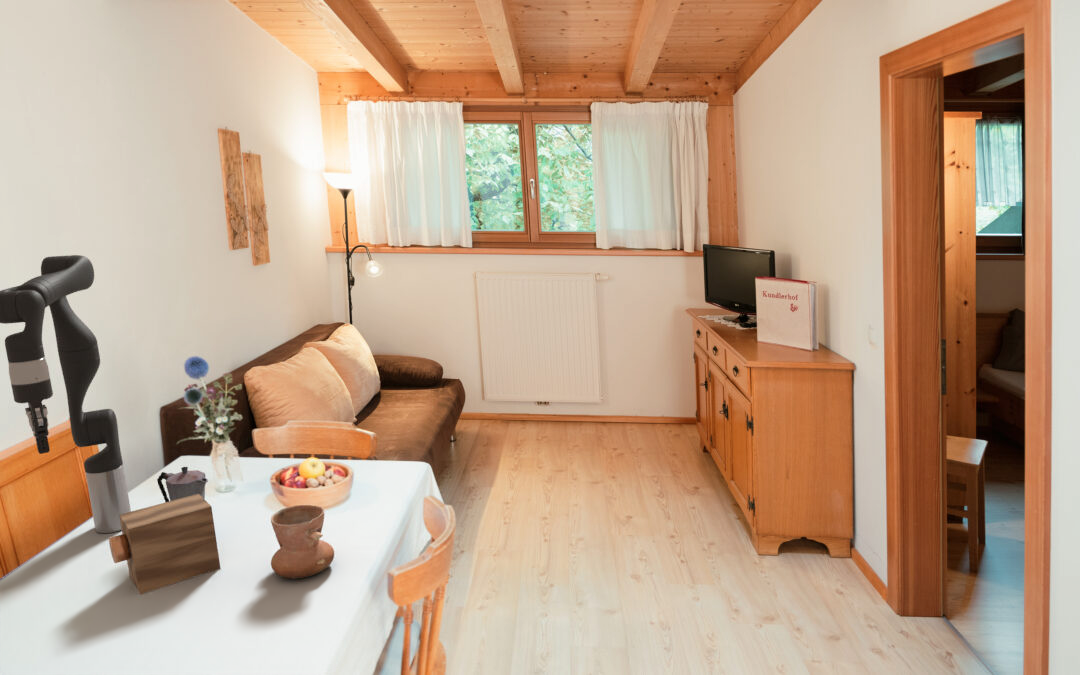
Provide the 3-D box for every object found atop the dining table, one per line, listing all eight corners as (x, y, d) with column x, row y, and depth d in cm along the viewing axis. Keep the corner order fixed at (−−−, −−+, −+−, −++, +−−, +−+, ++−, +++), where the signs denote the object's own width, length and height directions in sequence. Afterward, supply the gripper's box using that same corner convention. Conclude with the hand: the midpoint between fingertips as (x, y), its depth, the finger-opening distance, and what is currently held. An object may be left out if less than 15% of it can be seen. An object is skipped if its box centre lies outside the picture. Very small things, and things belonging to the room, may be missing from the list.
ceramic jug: (350, 568, 192) (344, 511, 189) (296, 592, 182) (288, 532, 179) (309, 549, 204) (303, 495, 202) (256, 571, 194) (248, 514, 191)
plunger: (111, 558, 188) (107, 534, 187) (206, 530, 201) (203, 507, 200) (116, 567, 184) (112, 542, 182) (213, 538, 196) (210, 515, 195)
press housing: (129, 577, 194) (119, 514, 190) (207, 553, 204) (198, 493, 201) (139, 594, 185) (128, 529, 182) (220, 568, 196) (211, 506, 192)
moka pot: (205, 548, 207) (195, 474, 203) (152, 545, 210) (140, 473, 206) (226, 531, 216) (216, 460, 212) (175, 529, 220) (164, 459, 216)
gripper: (53, 380, 179) (67, 455, 182) (45, 371, 189) (58, 441, 193) (13, 387, 174) (28, 463, 178) (8, 377, 185) (22, 449, 188)
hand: (44, 452), depth 185 cm, fingers closed
